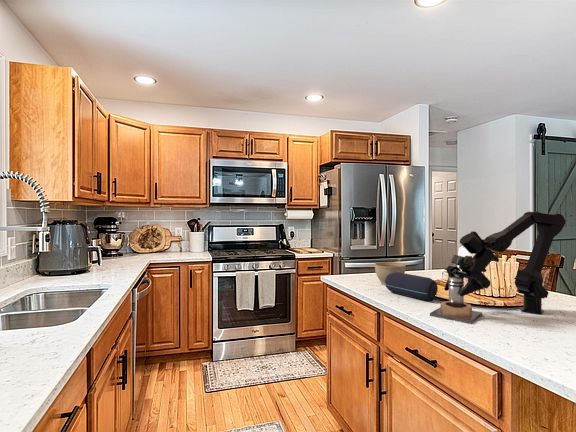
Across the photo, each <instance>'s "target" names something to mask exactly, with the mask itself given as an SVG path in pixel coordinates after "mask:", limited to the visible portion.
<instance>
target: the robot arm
mask: <svg viewBox="0 0 576 432" xmlns="http://www.w3.org/2000/svg"><path fill="white" fill-rule="evenodd" d="M566 222H567V221H566V219H565V217H564V215H563V214H561V213H544V212H539V211H526V212H524V213H523V214H522V216H520V217H519V218H517V219H516V220H515V221H513V222H512V223H511V224H509V225H508V226H507V227H505V228H504V229H503V230H500V231H497V232H495V233H491V234H489V235H488V236H486V237H485V238H484V239H483V238H481V236H480V235H479V234H478V232H477V231H473V230H472V231H471V232H469V233H467V234H465V235H464V236H462V237H461V238H460V239H459V243H460V244H461V246H462V247H464V249H465V250H466V252H468V253H469V254H471V255H473V254H474V255H473V256H470V255H465V256H461V255H457V254H454V255H453V256H452V259H451V262H450V263H451V264H455V265H457V266H455V265H448V266H446V268H445V270H446V273H447V280H446V283H445V285H444V290H445V292H446V291H449V285H448V283H449V282H448V280H449V277H461V278H465V279H467V282H466V284H464V288H463V289H462V291H461V292H460V294H459V295H460V296H464V297H465V296H467V295H469V294H472V293H475V292H477V291H481V290H485V289H486V290H487V289H489V287H490V286H491V280H490V279H489V278H488V277H487V276H486V275H485V274H484V273H487V271H488V270H487V269H486V268H487V267H488V266H489V265H490V264H491V262H496V263H499V262H500V260H499V255H498V254H495V253H494V252H497V253H498V252H499V253H504V252H506V251H507V250H508V249H509V247H510V246H511V245H512V243H513V241H514V239H515V238H517V237H518V236H520V235H521V234H523V233H524V232H525V231H526V230H528V229H529V228H530V227H532V226H533V225H536V230H537V233H538V234H537V237H536V240H535V241H534V242H535V243H534V245H533V246H532V250H531V252H530V256H529V258H528V261H527V263H526V266H525V267H524V268H523V269H517V271H516V274H515V277H514V278H513V279H514V285H515V287H516V289H517V292H518V294H522V295H523V307H522V309H520V311H521V312H522V313H523V312H524V313H528V314H529V313H531V314H537V315H543V313H544V311H545V310H544V309H543V307H542V305H543V302H542V301H543V299H547V298H548V296H549V291H548V290H547V289H546V288H545V287H544V286H543V281H544V279H543V276H542V270H543V267H544V265H545V262H546V259H547V256H548V254H549V251H550V250H551V249H550V248H551V246H552V243H553V240H554V238H555V237H556V236H557V235H558V234H561V232H562V230H563V229H564V227H565V225H566Z"/></svg>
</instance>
